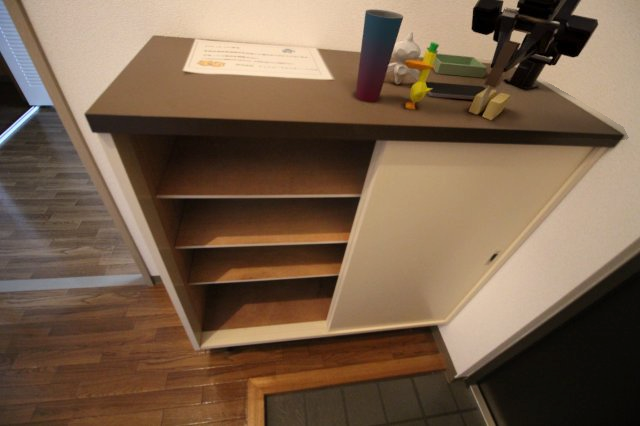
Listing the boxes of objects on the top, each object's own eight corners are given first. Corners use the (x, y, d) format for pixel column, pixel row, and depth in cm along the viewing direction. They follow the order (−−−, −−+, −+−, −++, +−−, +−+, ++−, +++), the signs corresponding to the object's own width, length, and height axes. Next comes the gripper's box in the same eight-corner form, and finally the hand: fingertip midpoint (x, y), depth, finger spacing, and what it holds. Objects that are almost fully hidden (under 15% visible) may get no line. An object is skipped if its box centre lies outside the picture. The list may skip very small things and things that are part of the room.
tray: (469, 66, 85) (473, 57, 83) (482, 77, 78) (487, 67, 76) (427, 62, 84) (430, 52, 82) (436, 73, 77) (440, 63, 75)
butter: (479, 103, 65) (487, 87, 62) (501, 111, 63) (510, 95, 60) (468, 111, 61) (475, 95, 58) (491, 120, 59) (500, 103, 56)
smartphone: (422, 81, 69) (483, 86, 70) (421, 86, 70) (481, 90, 70) (430, 93, 64) (495, 98, 64) (428, 98, 65) (493, 102, 65)
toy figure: (393, 108, 58) (412, 42, 50) (392, 101, 61) (410, 37, 52) (426, 112, 58) (450, 47, 50) (423, 105, 61) (446, 42, 52)
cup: (381, 106, 59) (403, 20, 48) (349, 100, 59) (364, 14, 49) (383, 93, 63) (403, 13, 53) (353, 88, 64) (367, 7, 53)
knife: (479, 101, 57) (509, 40, 50) (488, 105, 56) (521, 43, 49) (473, 105, 56) (504, 42, 48) (483, 109, 55) (516, 45, 47)
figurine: (372, 84, 67) (384, 30, 59) (372, 77, 70) (383, 25, 63) (423, 91, 66) (441, 38, 59) (420, 84, 70) (437, 32, 62)
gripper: (506, -66, 46) (448, 21, 47) (649, -53, 37) (574, 53, 39) (496, -7, 55) (449, 64, 57) (608, 14, 47) (549, 96, 49)
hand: (497, 68), depth 50 cm, fingers closed on knife, 2 cm apart
